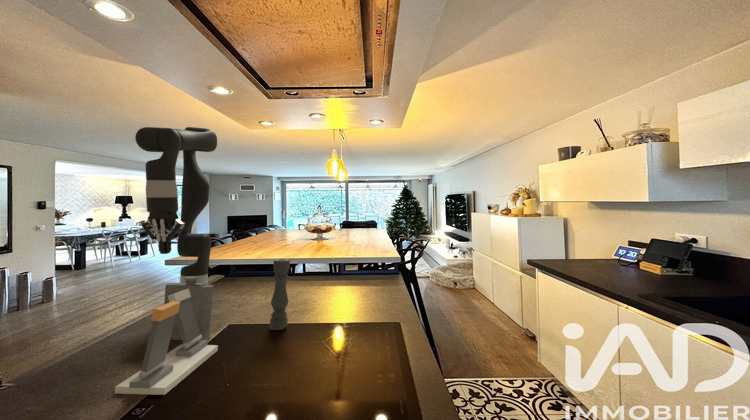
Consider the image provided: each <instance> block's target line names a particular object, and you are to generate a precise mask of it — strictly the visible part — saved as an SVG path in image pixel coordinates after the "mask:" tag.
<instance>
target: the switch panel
mask: <svg viewBox="0 0 750 420" xmlns="http://www.w3.org/2000/svg"><path fill="white" fill-rule="evenodd" d="M218 349H219V345H215V344H209V341H208V340H199V341H197V342H196V343H195V344H193V345H192V346H190V347H189V348H187V349H184V348H183V343H182V344H180V345H178V346H177V347H174V348H172V350H170V351H169V352H168V351H167V355H166V363H165V364H164V365H162V366H161V367H160V368H158V369H157V370H155V371H154V372H152V373H151V374H149V375H148V376H146V377H145V378H143V379H141V378H139V373H140V372H141V369H140V370H139V371H138V372H136V373H134V374H133V375H131V376H130V377H128V378H126V379H125V380H124V381H121V382H120V383H119V384H117V385H115V388H114V394H115V395H116V394H117V395H119V394H120V395H122V394H123V395H151V396H152V395H155V396H156V395H160V396H161V395H162V396H165V395H166V394H167V393H169V392H170V391H171V390H172V389H173V388H175V387H176V386H177V385H178V384H179V383H181V382H182V381H183V380H184V379H185V378H187V377H189V375H191V374H192V373H193V372H194V371H195V370H196V369H197V368H199V366H201V365H202V364H204V362H206V361H207V360H208V359H210V358H212V356H213V355H214V354H215V353H217V352H218Z"/></svg>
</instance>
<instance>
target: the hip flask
mask: <svg viewBox="0 0 750 420" xmlns="http://www.w3.org/2000/svg"><path fill="white" fill-rule="evenodd" d="M185 280H186V283H180V282H169V283H165V286H164V287H165V289H164V301H163V303H164V304H163V305H165V304H167V303H170V302H169V299H168V296H169V295H171V294H174V293H177V292H180V291H183V290H186V289H189V292H190V295H191V297H190V300H191V304H192V307H193V310H194V314H195V317H196V321H197V324H198V328H199V331H200V334H201V335H202V339H200V340H208V342H210V340H211V328H212V316H213V315H212V313H213V311H212V310H213V298H214V285H213V284H208V283H207V284H202V283H197V281H196V280H198V277H196V276H192V277H185ZM171 340H173V341H174V340H176V341H182V338H181V334H180V331H179V327H178V324H177V320H176V317H175V321H174V325H173V329H172V334H171V338H170V341H171Z"/></svg>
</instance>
